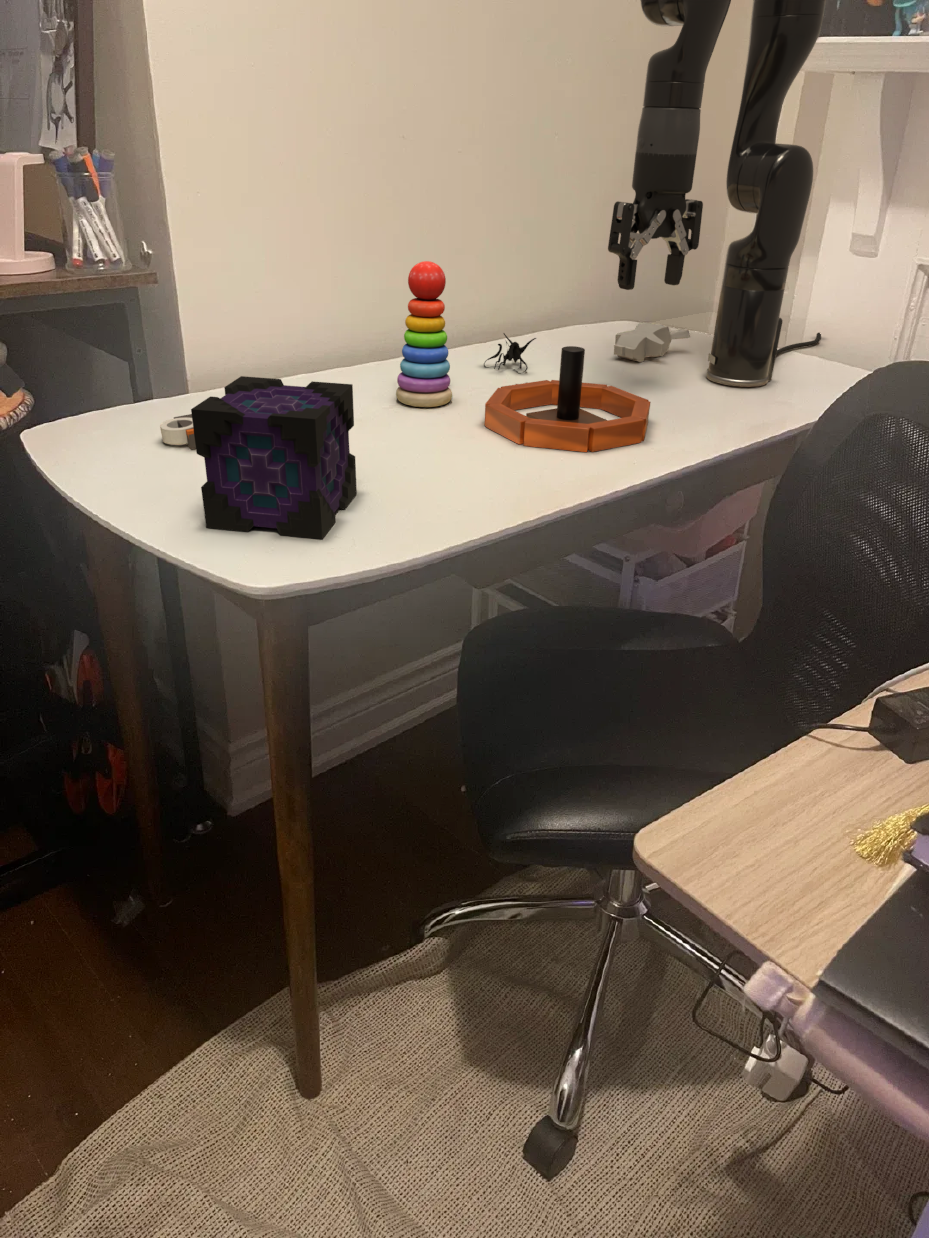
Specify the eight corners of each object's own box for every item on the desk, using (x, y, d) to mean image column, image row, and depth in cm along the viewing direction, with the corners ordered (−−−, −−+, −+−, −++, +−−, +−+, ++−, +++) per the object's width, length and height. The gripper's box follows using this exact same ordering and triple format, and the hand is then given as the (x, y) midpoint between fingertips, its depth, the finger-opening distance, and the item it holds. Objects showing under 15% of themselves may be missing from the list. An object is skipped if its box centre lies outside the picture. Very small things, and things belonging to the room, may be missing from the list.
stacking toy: (445, 411, 125) (447, 268, 116) (389, 406, 126) (387, 264, 117) (457, 396, 132) (460, 259, 122) (404, 391, 133) (403, 256, 124)
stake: (572, 412, 126) (579, 339, 121) (609, 428, 120) (617, 352, 115) (525, 420, 122) (530, 345, 117) (560, 437, 116) (567, 359, 112)
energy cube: (322, 539, 88) (315, 419, 82) (206, 528, 89) (190, 409, 83) (356, 494, 98) (352, 384, 92) (251, 484, 100) (241, 376, 94)
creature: (518, 383, 142) (542, 362, 147) (516, 351, 139) (541, 331, 144) (476, 375, 146) (501, 355, 151) (473, 344, 142) (498, 324, 147)
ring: (581, 394, 134) (583, 374, 132) (679, 435, 118) (682, 413, 117) (460, 413, 124) (460, 392, 123) (549, 460, 109) (551, 436, 107)
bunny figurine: (600, 333, 152) (651, 310, 161) (600, 362, 155) (650, 339, 164) (648, 342, 146) (698, 319, 155) (646, 373, 149) (695, 349, 158)
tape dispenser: (153, 417, 112) (269, 397, 118) (158, 440, 113) (272, 419, 119) (167, 433, 107) (287, 411, 113) (172, 457, 108) (290, 433, 114)
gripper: (647, 151, 106) (630, 296, 114) (728, 151, 113) (707, 287, 121) (603, 148, 111) (590, 286, 119) (683, 148, 118) (666, 278, 126)
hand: (649, 286), depth 120 cm, fingers open, 8 cm apart
